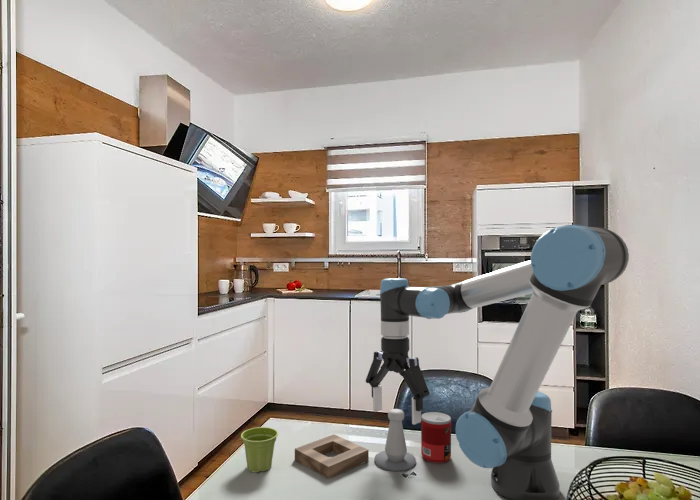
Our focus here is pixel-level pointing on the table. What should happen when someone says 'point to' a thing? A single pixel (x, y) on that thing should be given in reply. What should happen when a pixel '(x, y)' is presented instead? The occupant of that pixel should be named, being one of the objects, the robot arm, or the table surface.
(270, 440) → the plant pot
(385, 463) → the coaster
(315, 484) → the table surface
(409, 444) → the table surface
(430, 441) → the canned food
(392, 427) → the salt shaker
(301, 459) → the collar block
